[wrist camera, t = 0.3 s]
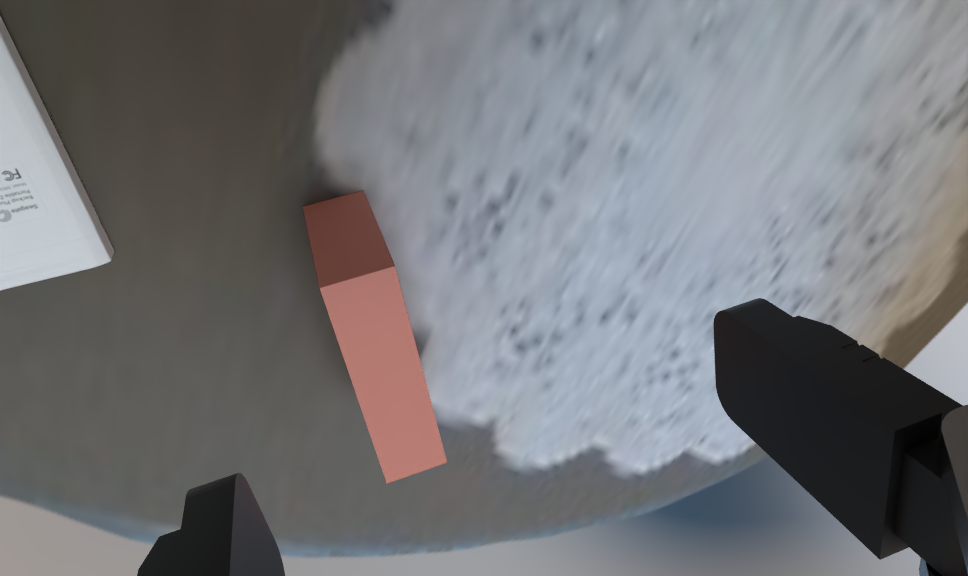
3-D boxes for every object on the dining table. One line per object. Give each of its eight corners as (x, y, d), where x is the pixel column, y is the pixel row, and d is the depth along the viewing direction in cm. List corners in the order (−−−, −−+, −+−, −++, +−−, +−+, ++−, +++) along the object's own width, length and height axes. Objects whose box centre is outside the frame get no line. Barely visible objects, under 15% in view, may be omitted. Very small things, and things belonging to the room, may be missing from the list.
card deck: (302, 206, 26) (319, 288, 21) (363, 189, 26) (395, 265, 21) (361, 380, 31) (386, 483, 26) (411, 364, 31) (447, 462, 26)
